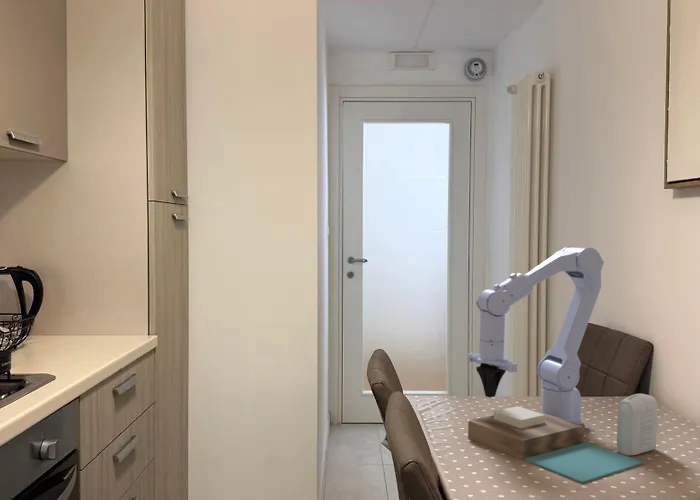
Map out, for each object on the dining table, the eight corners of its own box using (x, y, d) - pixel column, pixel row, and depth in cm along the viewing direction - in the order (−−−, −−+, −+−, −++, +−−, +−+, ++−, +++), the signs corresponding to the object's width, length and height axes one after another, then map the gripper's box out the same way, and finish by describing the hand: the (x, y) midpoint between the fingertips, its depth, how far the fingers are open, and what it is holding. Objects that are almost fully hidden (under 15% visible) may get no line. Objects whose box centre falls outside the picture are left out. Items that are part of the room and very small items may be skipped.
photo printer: (640, 443, 143) (642, 389, 143) (659, 449, 139) (661, 393, 139) (613, 452, 137) (615, 395, 137) (631, 458, 134) (633, 400, 133)
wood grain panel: (527, 424, 156) (528, 408, 156) (583, 443, 143) (584, 425, 142) (468, 437, 145) (468, 420, 145) (522, 459, 132) (523, 440, 131)
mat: (585, 444, 142) (585, 442, 142) (644, 463, 131) (644, 461, 130) (524, 460, 131) (524, 458, 131) (582, 483, 120) (582, 481, 119)
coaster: (517, 413, 151) (517, 406, 151) (544, 422, 144) (544, 414, 144) (493, 418, 146) (493, 411, 146) (520, 428, 140) (520, 420, 140)
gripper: (458, 336, 156) (457, 391, 157) (502, 346, 144) (501, 405, 144) (479, 334, 160) (477, 388, 160) (524, 343, 148) (522, 401, 148)
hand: (490, 396), depth 153 cm, fingers closed
